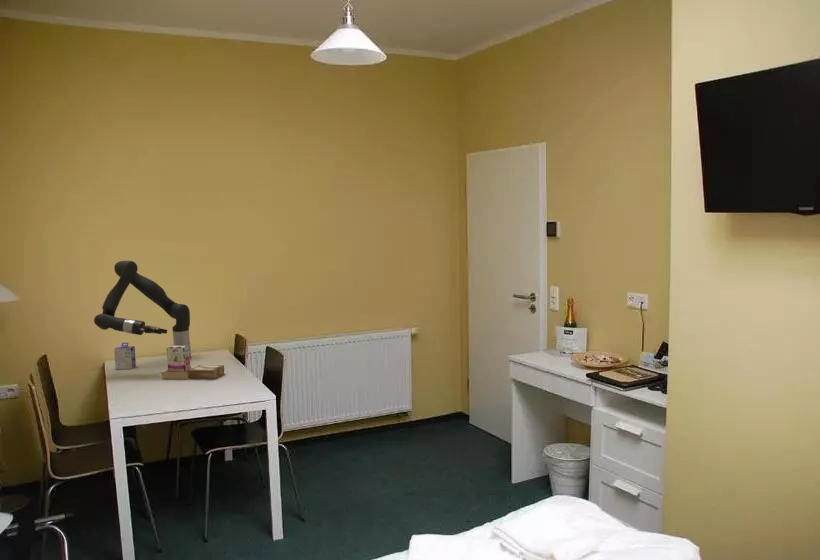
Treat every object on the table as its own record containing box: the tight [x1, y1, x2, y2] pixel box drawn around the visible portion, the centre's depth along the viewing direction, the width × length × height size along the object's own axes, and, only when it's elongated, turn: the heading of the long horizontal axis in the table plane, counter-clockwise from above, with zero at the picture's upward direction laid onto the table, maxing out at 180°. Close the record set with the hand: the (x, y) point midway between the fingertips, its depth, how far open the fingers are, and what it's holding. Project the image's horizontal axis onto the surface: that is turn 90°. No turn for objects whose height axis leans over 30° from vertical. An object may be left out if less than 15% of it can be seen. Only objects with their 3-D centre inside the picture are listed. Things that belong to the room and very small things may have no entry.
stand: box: [188, 364, 225, 380], centre depth 343 cm, size 12×14×5 cm
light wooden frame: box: [159, 365, 198, 380], centre depth 345 cm, size 14×16×4 cm
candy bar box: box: [166, 344, 192, 373], centre depth 345 cm, size 11×5×16 cm, turn 73°
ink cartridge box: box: [113, 342, 137, 370], centre depth 368 cm, size 10×6×14 cm, turn 89°
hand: (164, 331), depth 348 cm, fingers open, 8 cm apart
